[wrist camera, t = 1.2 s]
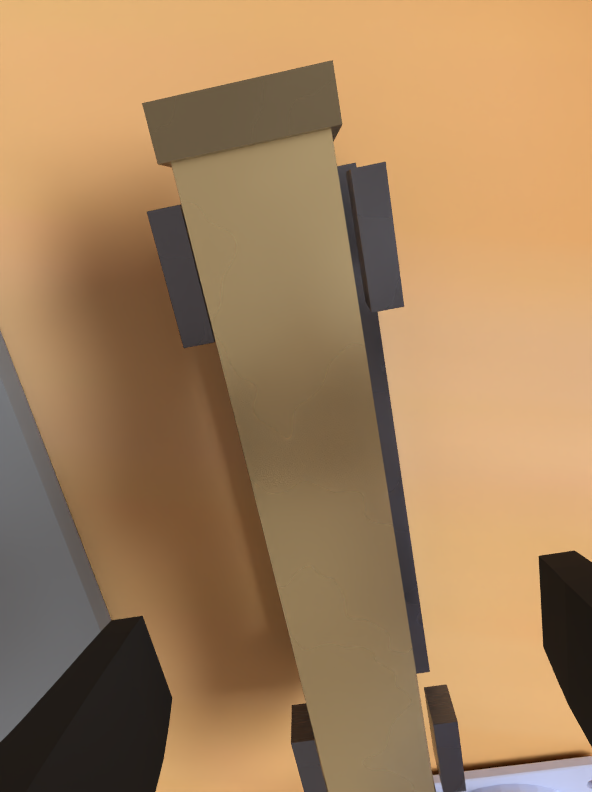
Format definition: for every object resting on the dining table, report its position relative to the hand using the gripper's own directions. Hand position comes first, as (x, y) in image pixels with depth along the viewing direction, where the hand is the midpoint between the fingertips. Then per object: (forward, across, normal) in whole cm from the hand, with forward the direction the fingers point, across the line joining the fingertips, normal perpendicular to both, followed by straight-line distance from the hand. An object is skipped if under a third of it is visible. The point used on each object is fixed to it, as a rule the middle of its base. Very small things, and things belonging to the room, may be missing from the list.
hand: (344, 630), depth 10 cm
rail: (+3, 0, 0) cm, 3 cm away
